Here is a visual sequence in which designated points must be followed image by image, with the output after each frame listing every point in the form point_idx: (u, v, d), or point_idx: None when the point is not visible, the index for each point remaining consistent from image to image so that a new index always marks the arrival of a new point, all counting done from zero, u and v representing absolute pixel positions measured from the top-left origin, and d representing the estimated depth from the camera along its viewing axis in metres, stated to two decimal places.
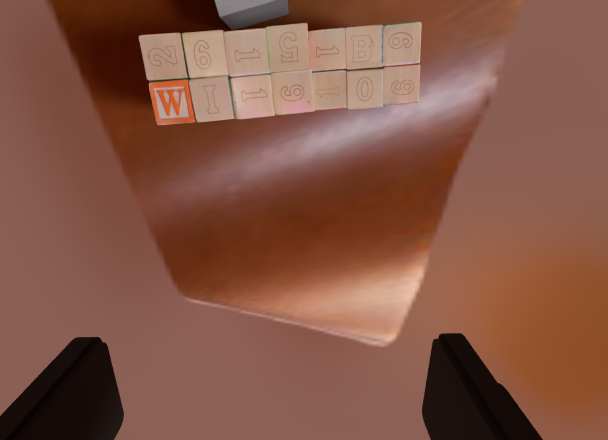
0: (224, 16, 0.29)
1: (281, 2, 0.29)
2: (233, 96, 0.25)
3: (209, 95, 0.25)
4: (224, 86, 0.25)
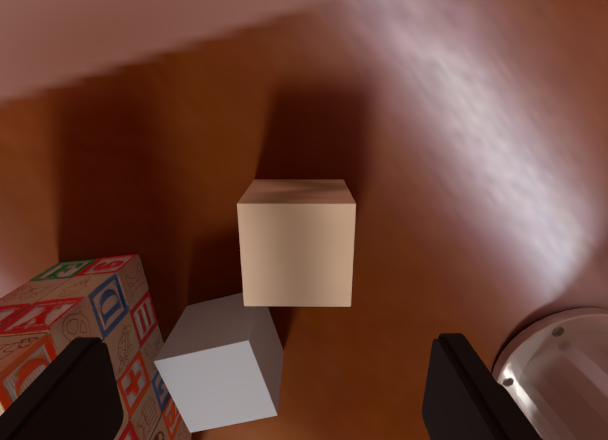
0: None
1: None
2: None
3: None
4: None
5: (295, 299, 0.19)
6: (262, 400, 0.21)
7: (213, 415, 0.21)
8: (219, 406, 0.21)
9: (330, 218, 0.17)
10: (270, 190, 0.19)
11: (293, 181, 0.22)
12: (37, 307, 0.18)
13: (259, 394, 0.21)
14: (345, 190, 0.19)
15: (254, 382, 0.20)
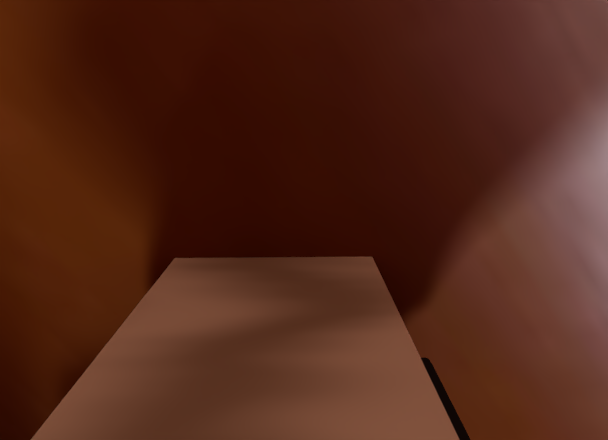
0: None
1: None
2: None
3: None
4: None
5: None
6: None
7: None
8: None
9: None
10: (188, 324, 0.07)
11: (260, 269, 0.09)
12: None
13: None
14: (393, 321, 0.07)
15: None
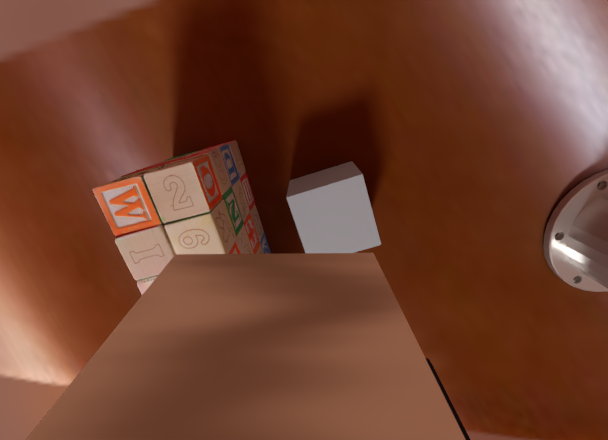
0: (288, 200, 0.26)
1: None
2: None
3: (151, 251, 0.20)
4: None
5: None
6: (369, 230, 0.26)
7: (329, 247, 0.27)
8: (335, 238, 0.26)
9: None
10: (188, 319, 0.07)
11: (260, 265, 0.09)
12: (184, 158, 0.24)
13: (367, 225, 0.26)
14: (394, 316, 0.07)
15: (364, 213, 0.26)
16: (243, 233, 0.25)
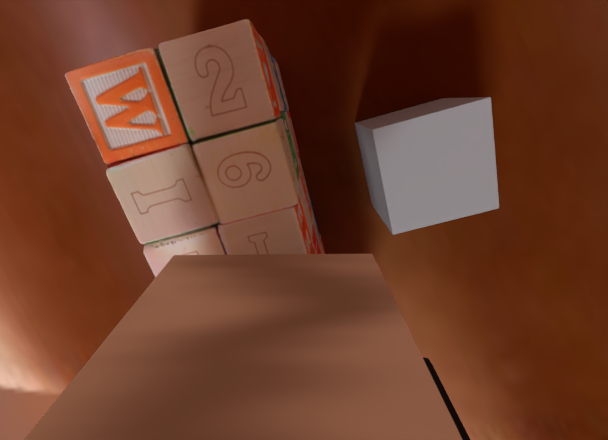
0: (372, 136, 0.17)
1: (386, 219, 0.20)
2: (182, 237, 0.12)
3: (169, 191, 0.12)
4: (194, 220, 0.12)
5: None
6: (486, 186, 0.18)
7: (425, 209, 0.18)
8: (435, 196, 0.18)
9: None
10: (187, 320, 0.07)
11: (259, 266, 0.09)
12: None
13: (485, 177, 0.18)
14: (393, 318, 0.07)
15: (483, 159, 0.18)
16: (300, 183, 0.17)
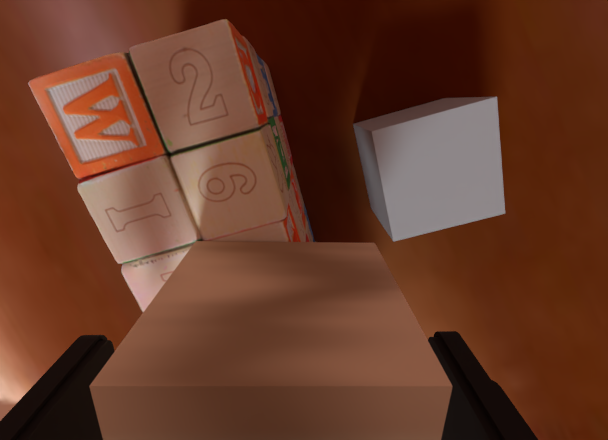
0: (371, 138, 0.16)
1: (386, 225, 0.19)
2: (162, 255, 0.11)
3: (146, 207, 0.11)
4: (174, 237, 0.11)
5: None
6: (492, 191, 0.17)
7: (427, 214, 0.18)
8: (438, 201, 0.17)
9: (373, 421, 0.06)
10: (215, 293, 0.08)
11: (274, 251, 0.10)
12: None
13: (490, 181, 0.17)
14: (394, 294, 0.08)
15: (489, 163, 0.17)
16: (292, 191, 0.16)
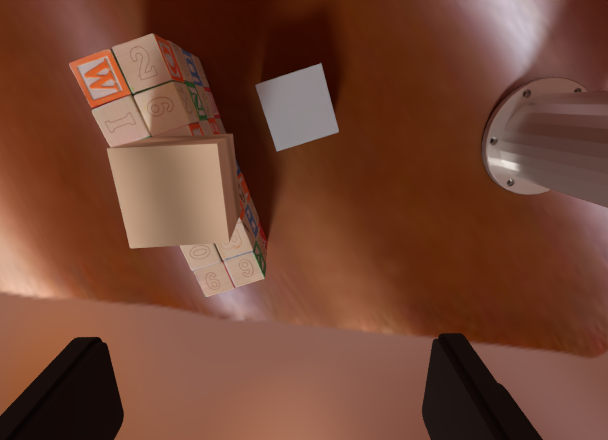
0: None
1: None
2: None
3: (123, 119, 0.23)
4: (138, 134, 0.24)
5: (177, 238, 0.20)
6: (328, 118, 0.30)
7: (294, 134, 0.30)
8: (299, 125, 0.30)
9: (196, 159, 0.19)
10: (151, 141, 0.21)
11: (183, 136, 0.23)
12: None
13: (327, 112, 0.30)
14: (222, 138, 0.21)
15: (324, 101, 0.30)
16: (207, 125, 0.29)
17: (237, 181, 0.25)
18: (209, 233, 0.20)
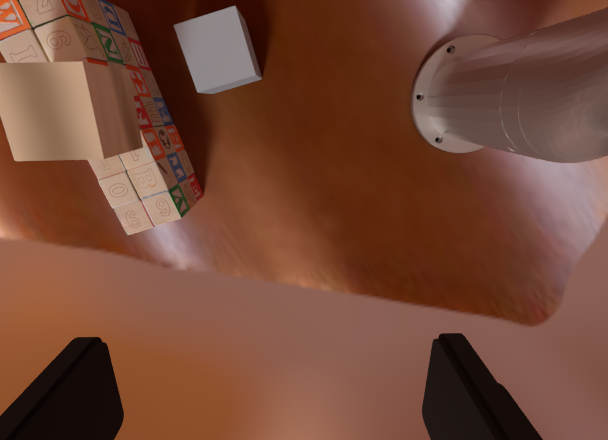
0: None
1: None
2: None
3: (26, 52, 0.26)
4: None
5: (56, 153, 0.22)
6: (245, 61, 0.32)
7: (213, 75, 0.32)
8: (217, 67, 0.32)
9: (65, 76, 0.21)
10: None
11: None
12: None
13: (243, 55, 0.32)
14: (104, 66, 0.23)
15: (239, 43, 0.31)
16: None
17: (136, 116, 0.27)
18: (85, 149, 0.22)
